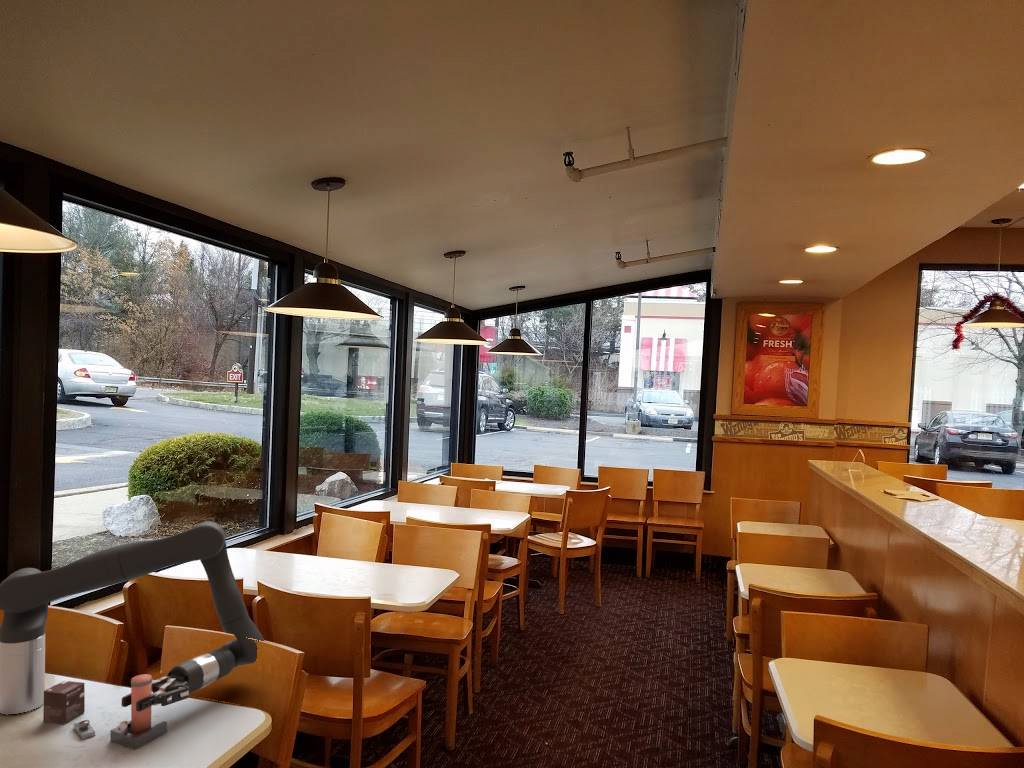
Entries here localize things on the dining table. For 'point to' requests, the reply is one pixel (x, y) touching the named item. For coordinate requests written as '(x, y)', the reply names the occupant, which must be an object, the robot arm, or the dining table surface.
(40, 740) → the dining table surface
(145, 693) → the post
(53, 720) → the box
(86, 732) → the plate
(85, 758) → the dining table surface
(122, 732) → the bracket
